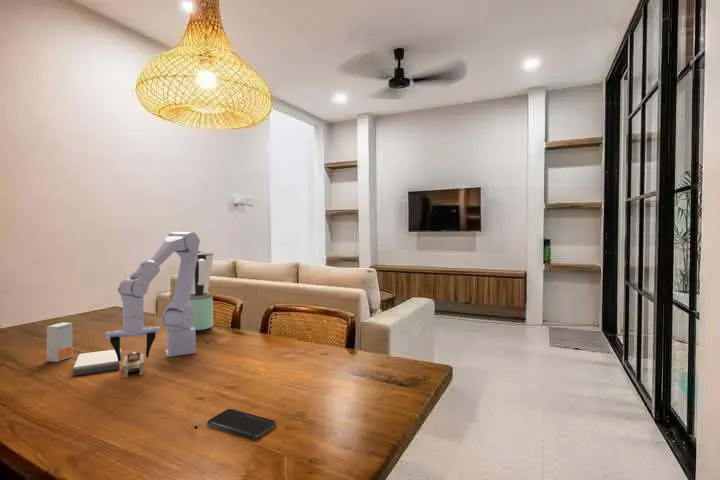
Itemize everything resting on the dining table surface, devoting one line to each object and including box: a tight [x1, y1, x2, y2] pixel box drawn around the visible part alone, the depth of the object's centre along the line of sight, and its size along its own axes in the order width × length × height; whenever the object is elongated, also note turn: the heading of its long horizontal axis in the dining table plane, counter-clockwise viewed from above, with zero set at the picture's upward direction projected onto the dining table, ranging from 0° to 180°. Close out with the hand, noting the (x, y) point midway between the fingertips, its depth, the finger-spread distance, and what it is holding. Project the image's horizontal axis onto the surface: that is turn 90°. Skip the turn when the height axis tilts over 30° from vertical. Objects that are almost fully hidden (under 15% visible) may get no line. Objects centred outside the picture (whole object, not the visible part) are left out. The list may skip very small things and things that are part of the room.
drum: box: [126, 350, 141, 362], centre depth 124 cm, size 4×4×2 cm
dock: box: [72, 348, 122, 376], centre depth 128 cm, size 12×15×2 cm
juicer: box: [179, 250, 214, 333], centre depth 169 cm, size 19×13×35 cm
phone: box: [206, 408, 277, 440], centre depth 91 cm, size 8×1×15 cm
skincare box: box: [46, 322, 74, 363], centre depth 134 cm, size 6×4×12 cm
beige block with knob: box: [122, 353, 145, 378], centre depth 124 cm, size 6×10×4 cm, turn 30°
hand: (133, 358), depth 124 cm, fingers open, 7 cm apart
